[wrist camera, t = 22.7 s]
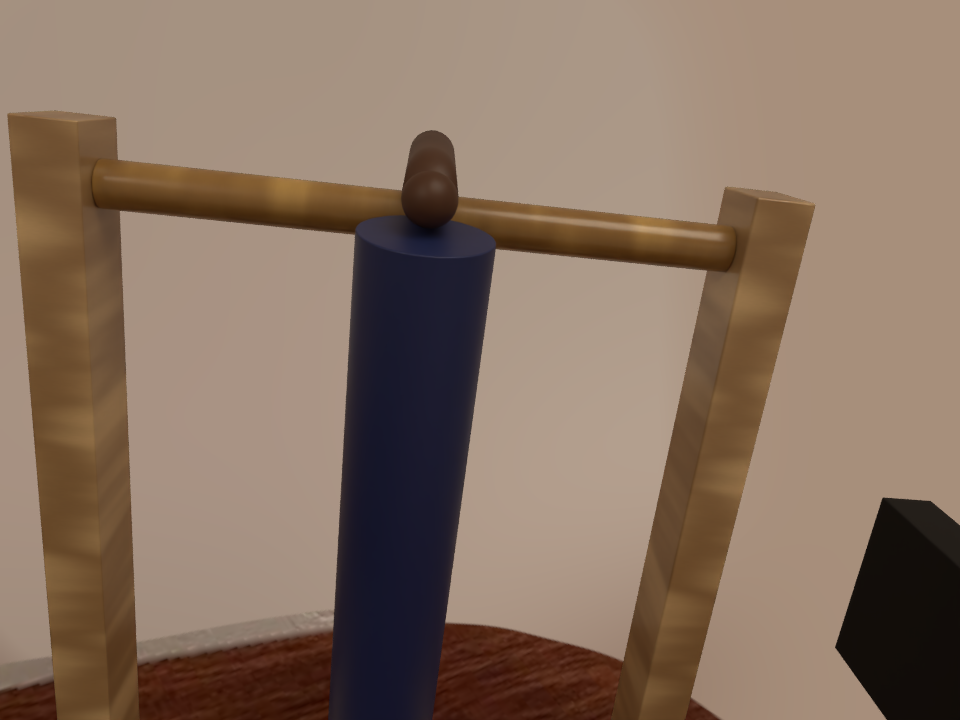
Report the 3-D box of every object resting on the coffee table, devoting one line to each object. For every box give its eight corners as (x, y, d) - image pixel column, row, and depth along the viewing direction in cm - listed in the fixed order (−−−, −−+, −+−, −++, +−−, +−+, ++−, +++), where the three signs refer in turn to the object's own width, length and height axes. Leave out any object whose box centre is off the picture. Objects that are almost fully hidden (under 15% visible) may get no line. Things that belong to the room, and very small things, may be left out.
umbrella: (425, 849, 30) (519, 198, 19) (311, 845, 30) (342, 178, 19) (428, 652, 39) (494, 134, 28) (341, 647, 39) (374, 120, 28)
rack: (615, 786, 40) (750, 184, 30) (657, 947, 33) (857, 215, 22) (119, 767, 38) (85, 108, 28) (41, 936, 30) (-43, 116, 20)
